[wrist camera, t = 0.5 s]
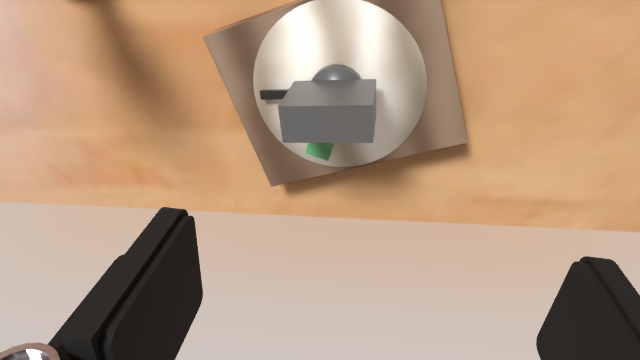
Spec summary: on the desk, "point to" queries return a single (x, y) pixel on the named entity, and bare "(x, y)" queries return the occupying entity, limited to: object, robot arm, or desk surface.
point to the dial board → (357, 53)
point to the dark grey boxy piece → (327, 107)
